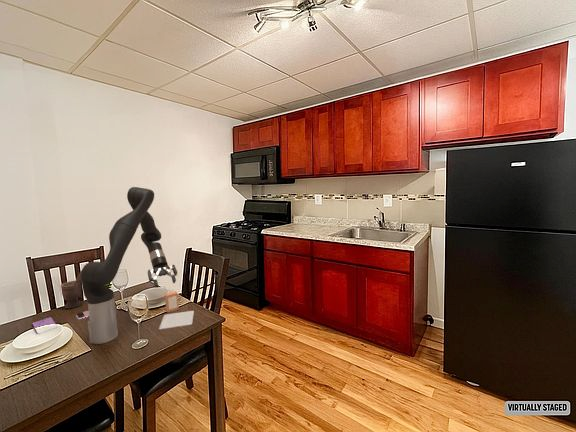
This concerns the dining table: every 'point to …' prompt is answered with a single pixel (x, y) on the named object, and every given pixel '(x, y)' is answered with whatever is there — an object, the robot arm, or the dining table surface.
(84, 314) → the mobile phone
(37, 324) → the sponges
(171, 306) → the card box
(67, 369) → the dining table surface
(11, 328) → the dining table surface
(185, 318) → the mat
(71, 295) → the mortar and pestle
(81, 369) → the dining table surface
